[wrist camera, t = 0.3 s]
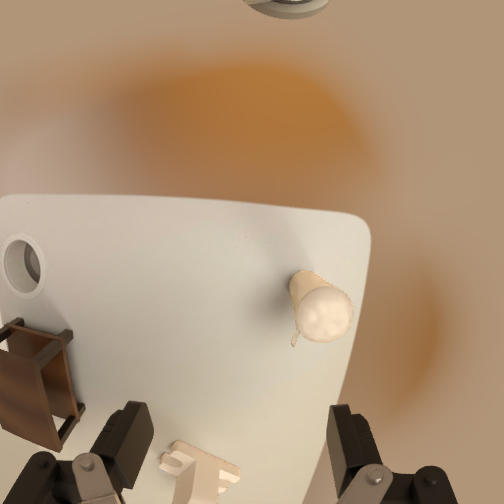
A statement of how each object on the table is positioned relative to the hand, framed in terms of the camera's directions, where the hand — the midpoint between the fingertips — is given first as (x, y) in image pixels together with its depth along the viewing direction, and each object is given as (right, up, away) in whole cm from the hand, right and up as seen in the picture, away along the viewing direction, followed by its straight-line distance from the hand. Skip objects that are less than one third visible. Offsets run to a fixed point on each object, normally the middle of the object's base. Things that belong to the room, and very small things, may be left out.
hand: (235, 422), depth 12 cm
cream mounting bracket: (-6, -21, +23) cm, 32 cm away
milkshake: (+6, +4, +19) cm, 20 cm away
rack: (-25, -7, +20) cm, 32 cm away
